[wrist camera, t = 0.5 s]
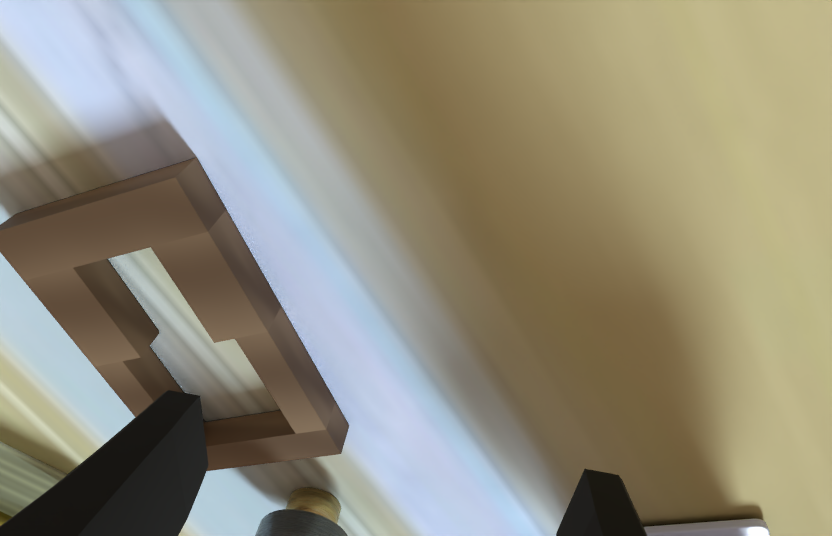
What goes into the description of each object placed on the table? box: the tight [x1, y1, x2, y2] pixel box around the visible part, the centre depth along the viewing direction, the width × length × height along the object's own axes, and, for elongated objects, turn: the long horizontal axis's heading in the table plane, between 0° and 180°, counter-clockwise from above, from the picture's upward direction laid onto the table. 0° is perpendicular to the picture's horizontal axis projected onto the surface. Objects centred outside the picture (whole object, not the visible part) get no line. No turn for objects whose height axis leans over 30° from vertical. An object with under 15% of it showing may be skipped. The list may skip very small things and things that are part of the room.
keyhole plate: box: [0, 158, 349, 471], centre depth 23 cm, size 13×8×2 cm, turn 20°
